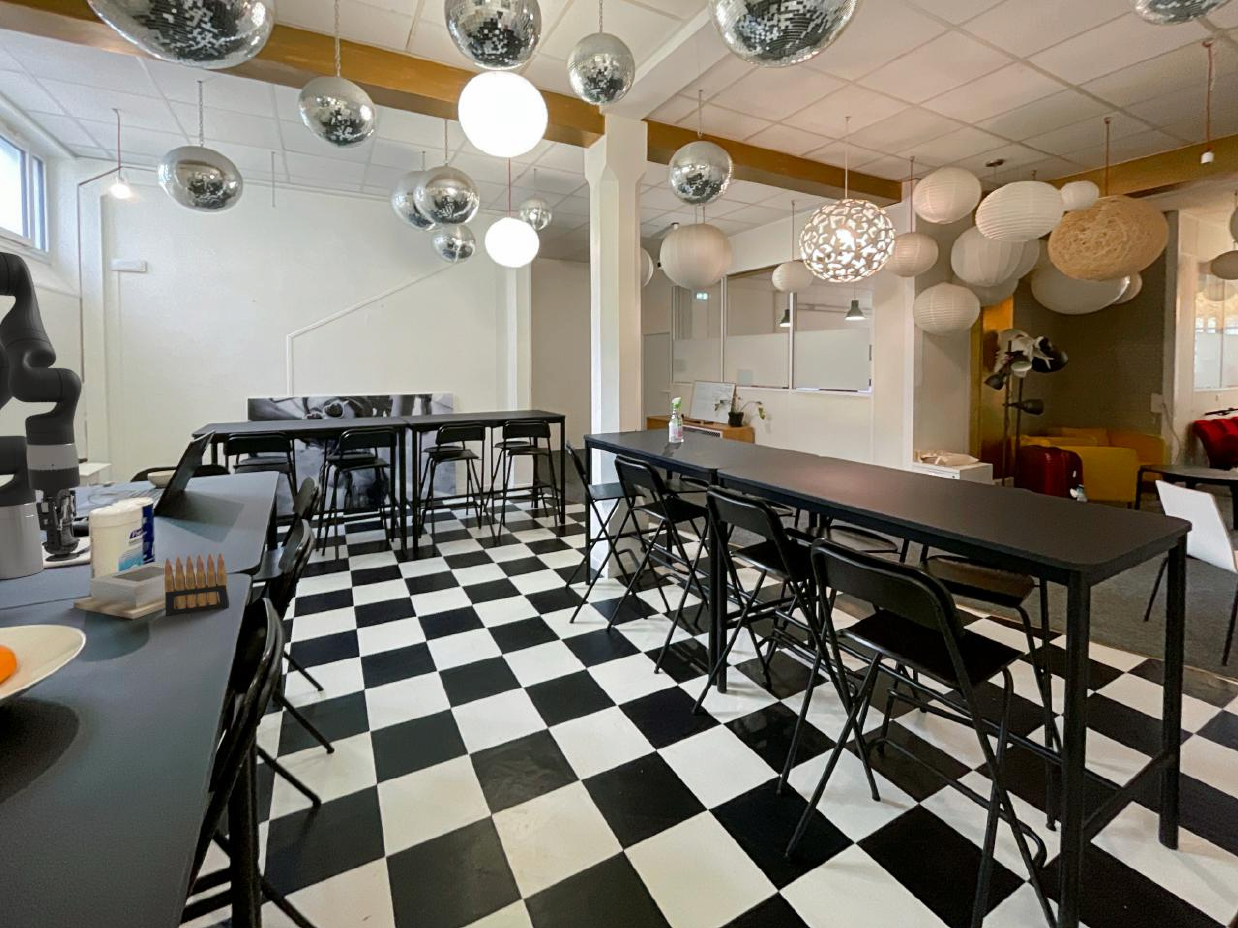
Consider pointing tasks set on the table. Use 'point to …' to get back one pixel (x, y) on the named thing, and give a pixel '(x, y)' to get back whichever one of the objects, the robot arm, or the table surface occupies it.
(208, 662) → the table surface
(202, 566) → the ammunition clip
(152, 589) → the square socket
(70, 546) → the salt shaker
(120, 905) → the table surface
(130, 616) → the base board
